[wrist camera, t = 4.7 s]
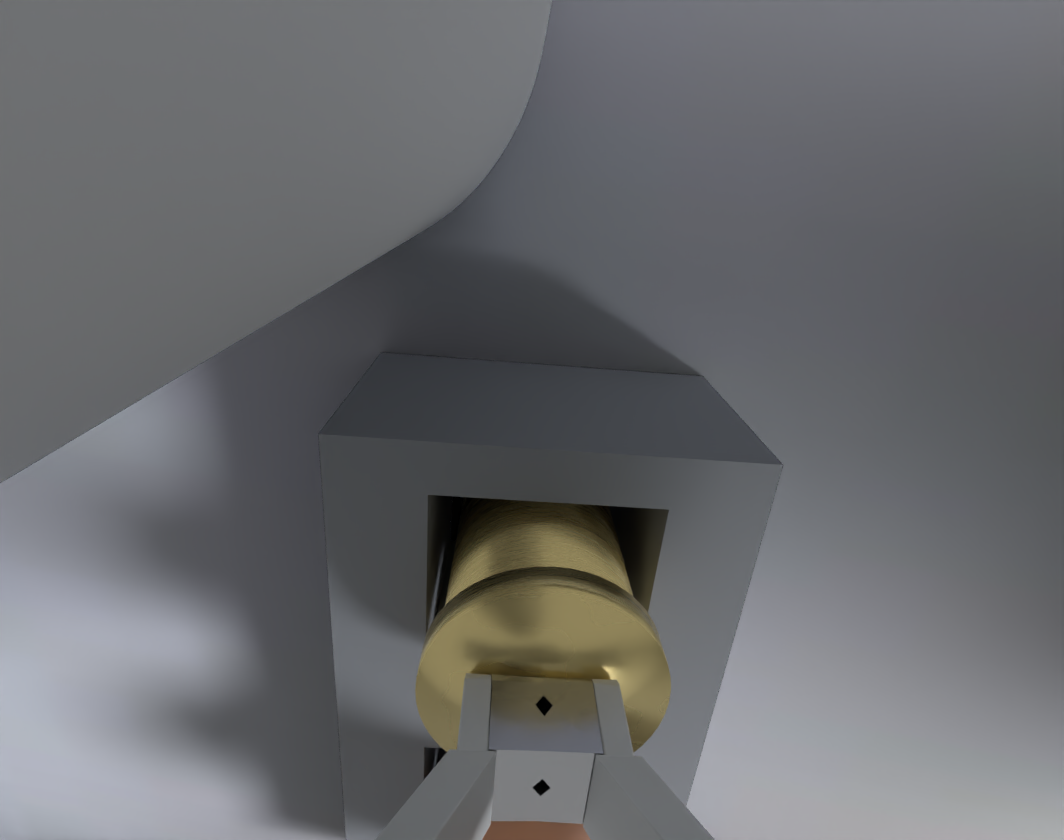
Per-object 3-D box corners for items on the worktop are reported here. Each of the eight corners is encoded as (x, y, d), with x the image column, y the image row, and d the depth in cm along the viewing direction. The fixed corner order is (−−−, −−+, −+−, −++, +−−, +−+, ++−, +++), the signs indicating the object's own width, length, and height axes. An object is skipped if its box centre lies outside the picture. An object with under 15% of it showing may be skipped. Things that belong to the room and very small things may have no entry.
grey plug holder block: (703, 376, 18) (783, 464, 13) (603, 853, 27) (624, 1024, 22) (381, 352, 18) (318, 434, 12) (391, 846, 27) (358, 1020, 21)
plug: (622, 427, 18) (693, 602, 10) (601, 562, 20) (648, 786, 12) (458, 416, 17) (416, 586, 10) (453, 553, 19) (414, 777, 12)
